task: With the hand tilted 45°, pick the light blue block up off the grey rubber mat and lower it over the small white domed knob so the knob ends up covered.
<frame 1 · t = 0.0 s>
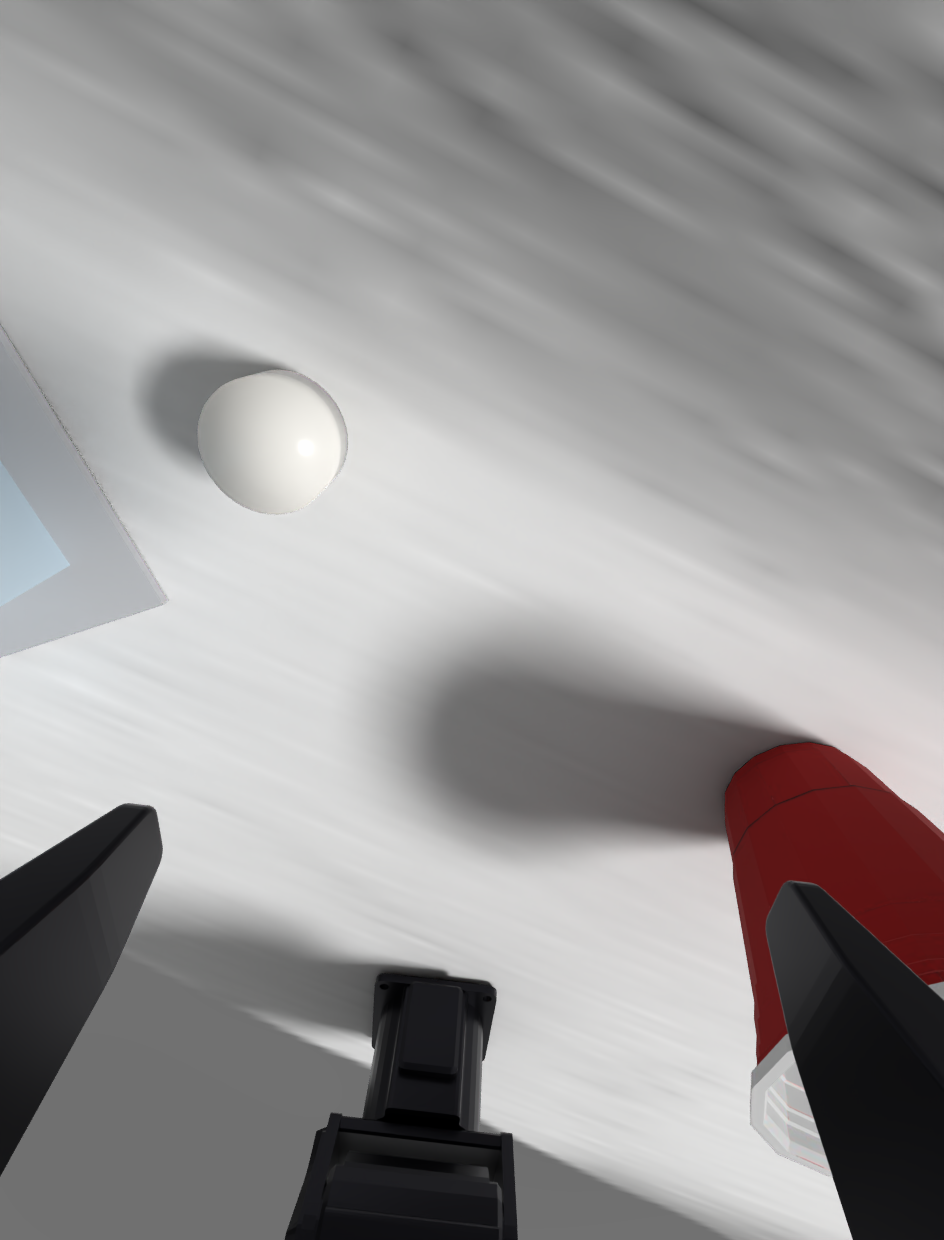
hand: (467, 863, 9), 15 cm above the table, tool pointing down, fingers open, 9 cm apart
plastic cup: (786, 795, 27), on the table
white domed knob: (294, 431, 21), on the table
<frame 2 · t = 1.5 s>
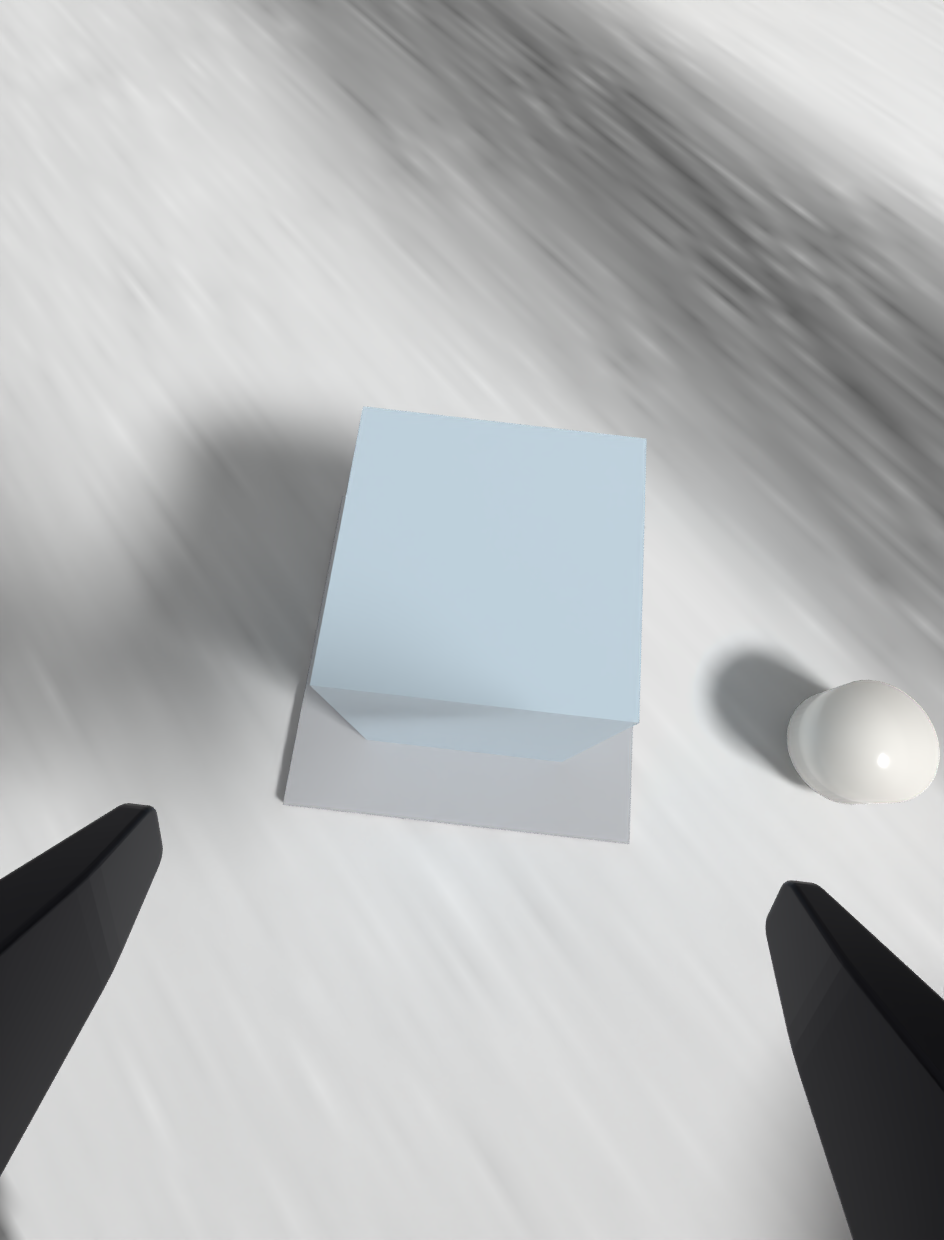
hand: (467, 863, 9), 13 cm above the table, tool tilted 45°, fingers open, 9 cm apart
light blue block: (474, 656, 23), resting on mat
mat: (474, 658, 24), on the table
white domed knob: (829, 748, 23), on the table
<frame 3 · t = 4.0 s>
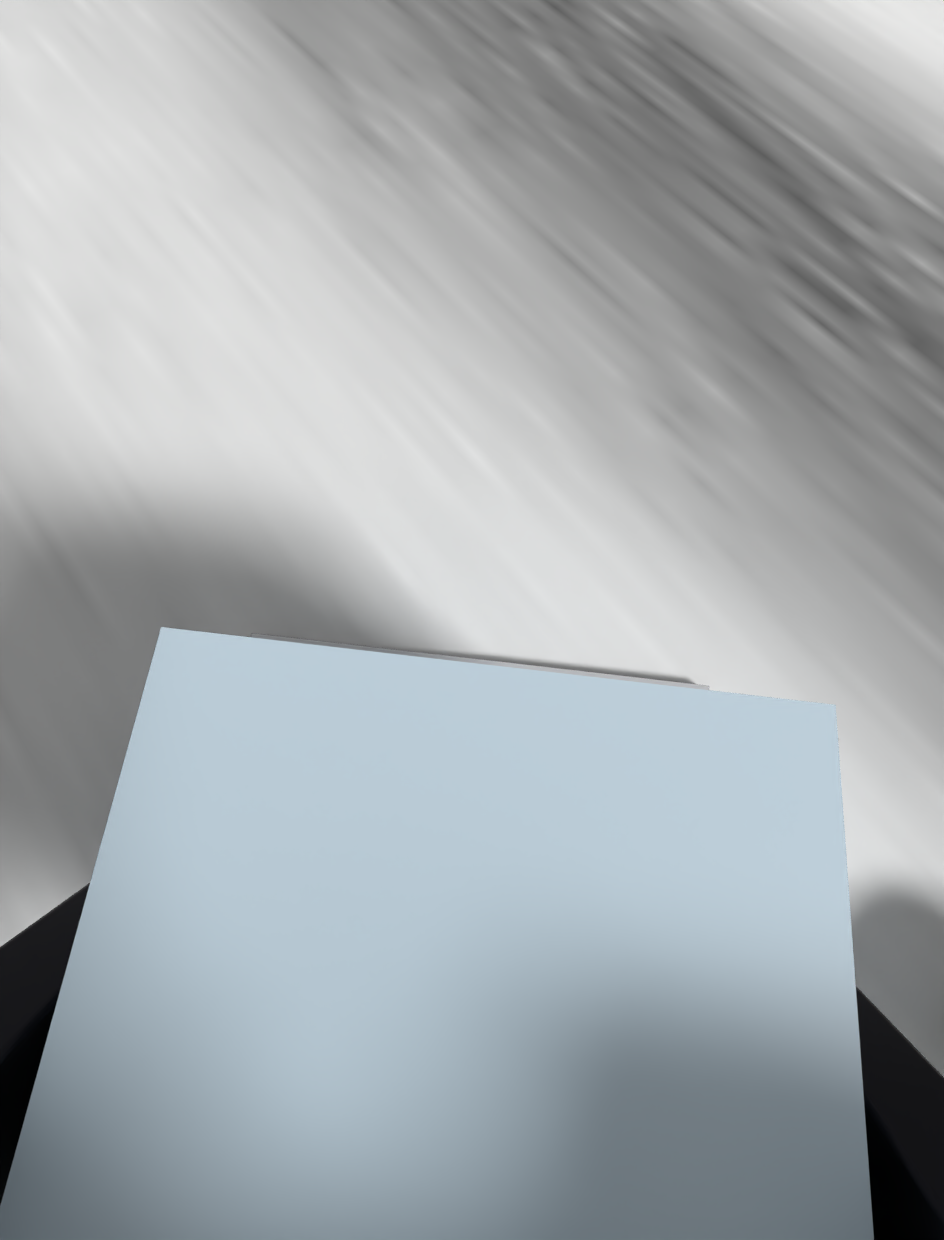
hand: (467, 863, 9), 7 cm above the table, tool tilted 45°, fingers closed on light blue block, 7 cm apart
light blue block: (452, 910, 14), resting on mat, touching gripper
mat: (452, 907, 15), on the table
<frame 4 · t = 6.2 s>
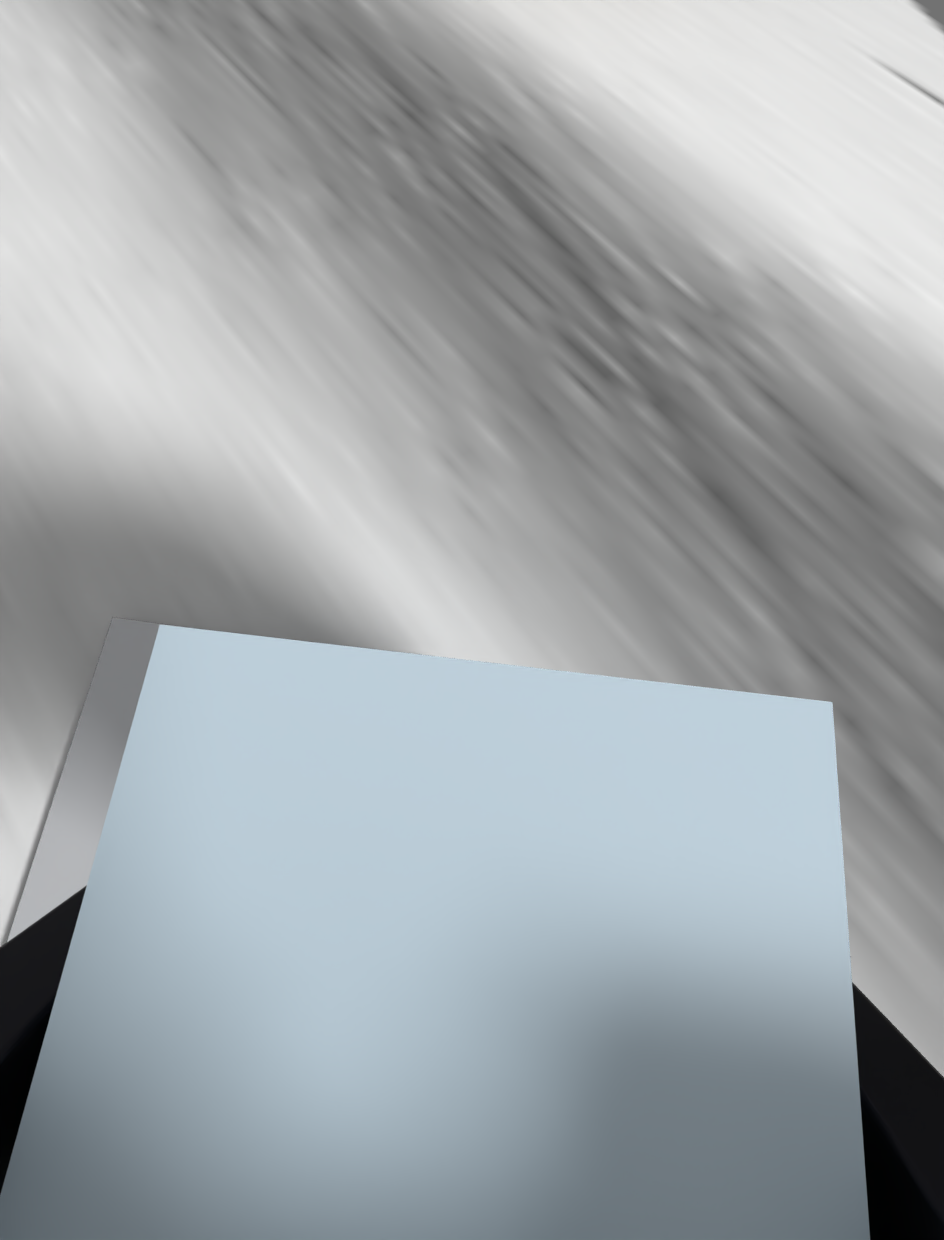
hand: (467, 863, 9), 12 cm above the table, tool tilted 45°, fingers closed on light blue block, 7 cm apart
light blue block: (451, 908, 14), point 6 cm above the table, touching gripper
mat: (241, 815, 21), on the table
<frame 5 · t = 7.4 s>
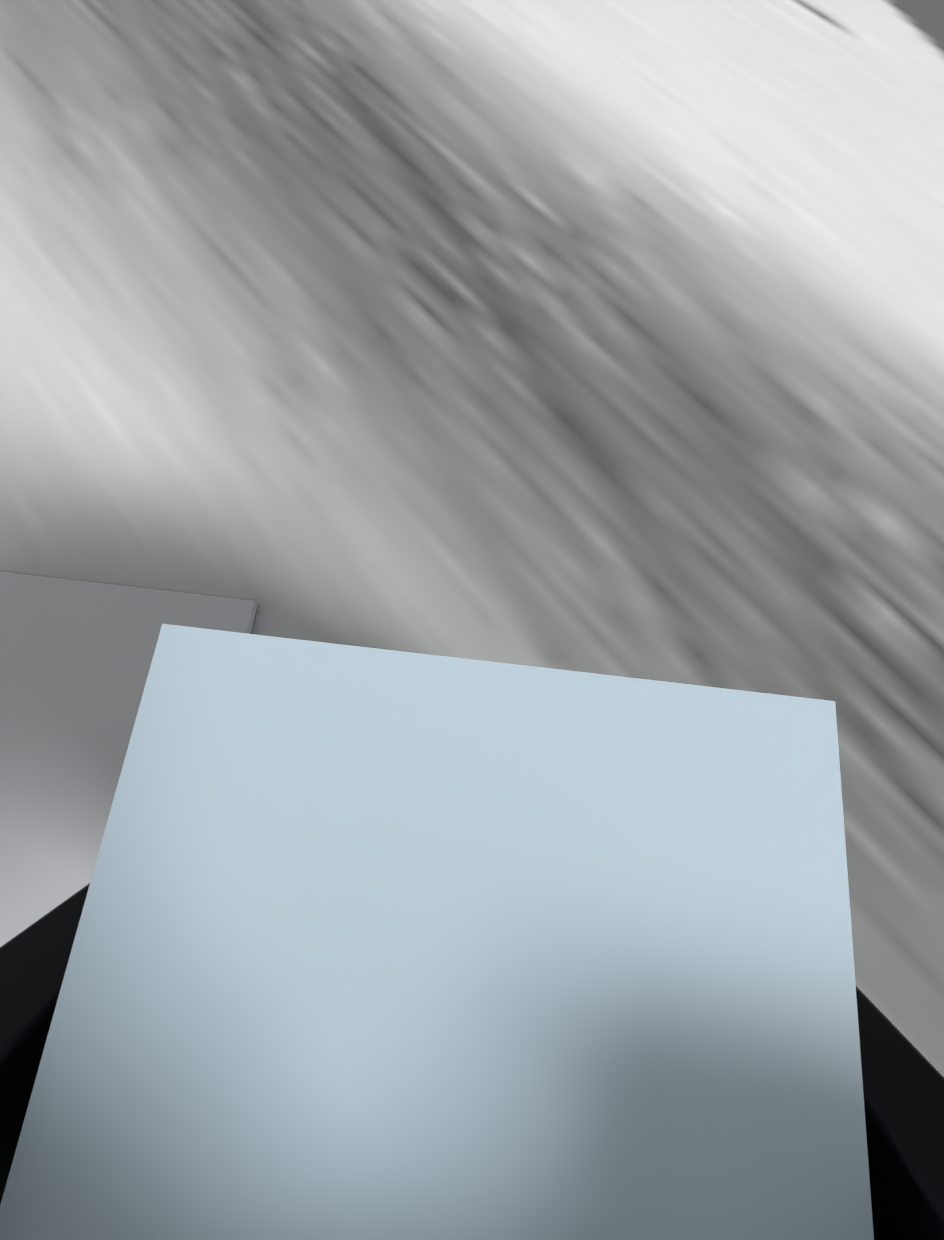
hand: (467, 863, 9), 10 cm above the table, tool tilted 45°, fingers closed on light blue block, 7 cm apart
light blue block: (453, 908, 14), point 4 cm above the table, touching gripper
mat: (17, 768, 19), on the table
when the fingers open (7 cm above the table, at t = 8.5 s): light blue block drops 1 cm, on the table.
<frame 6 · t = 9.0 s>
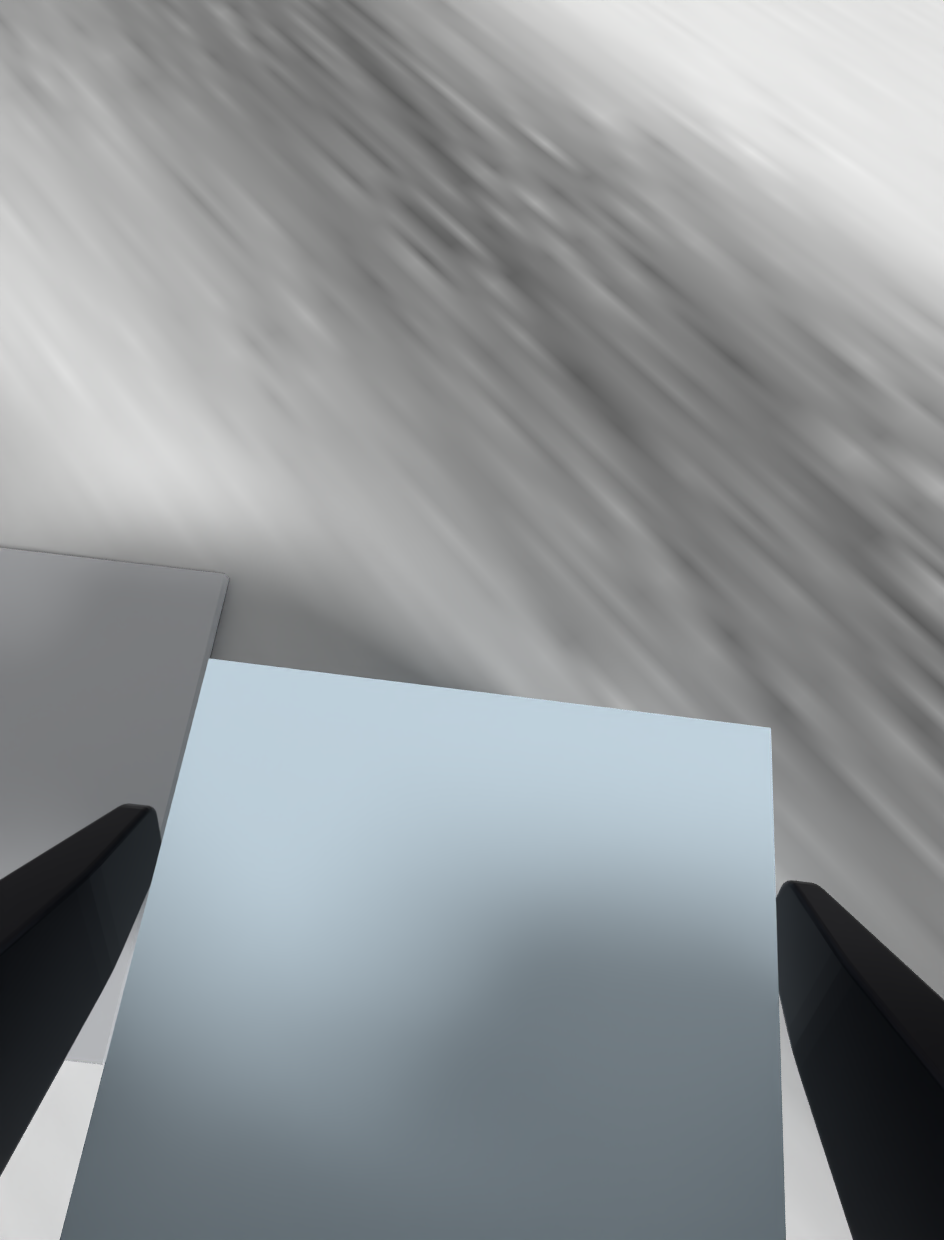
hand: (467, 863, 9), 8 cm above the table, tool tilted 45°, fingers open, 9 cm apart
light blue block: (451, 902, 16), on the table
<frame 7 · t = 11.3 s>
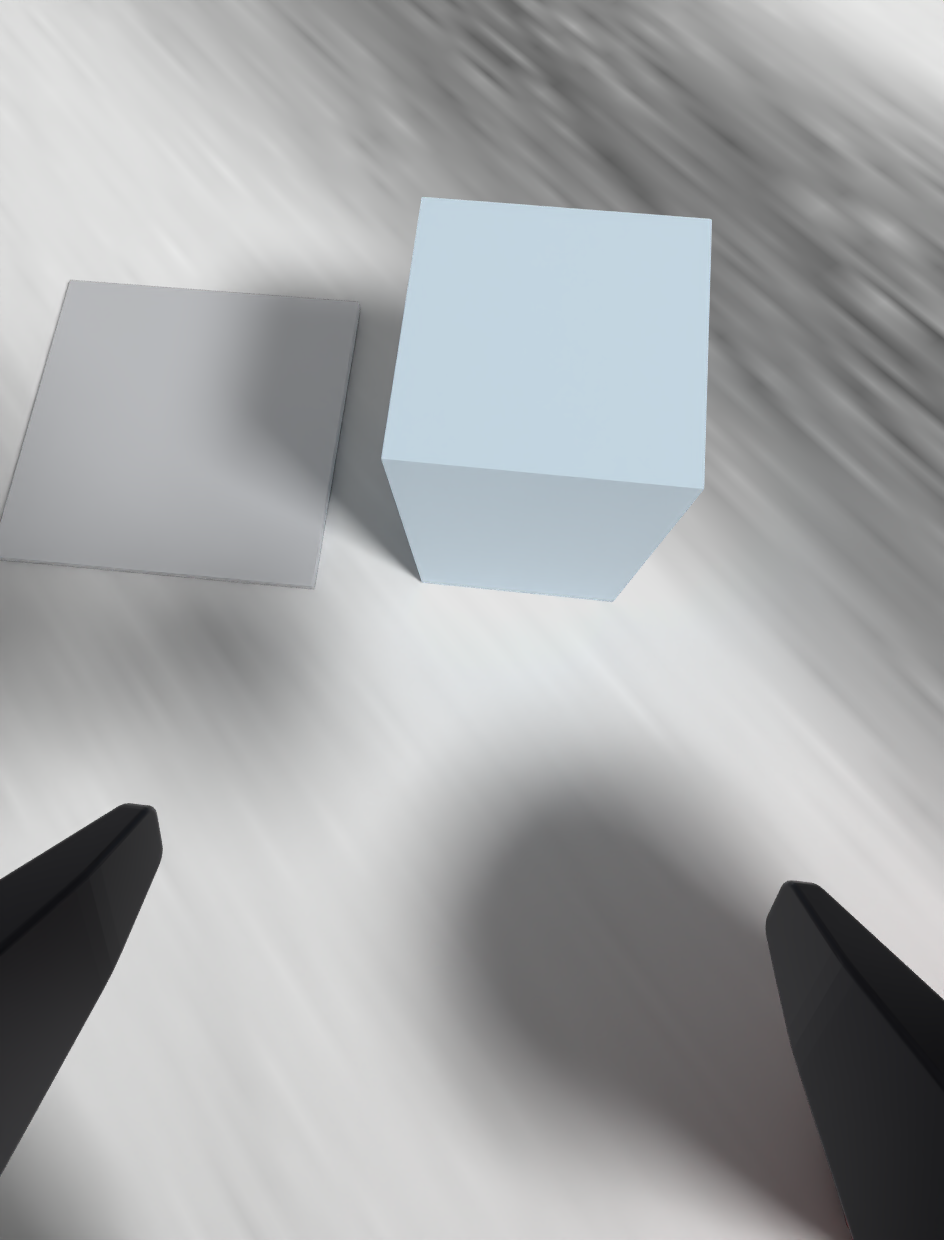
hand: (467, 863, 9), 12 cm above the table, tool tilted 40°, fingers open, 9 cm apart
light blue block: (525, 502, 24), on the table
mat: (187, 428, 24), on the table
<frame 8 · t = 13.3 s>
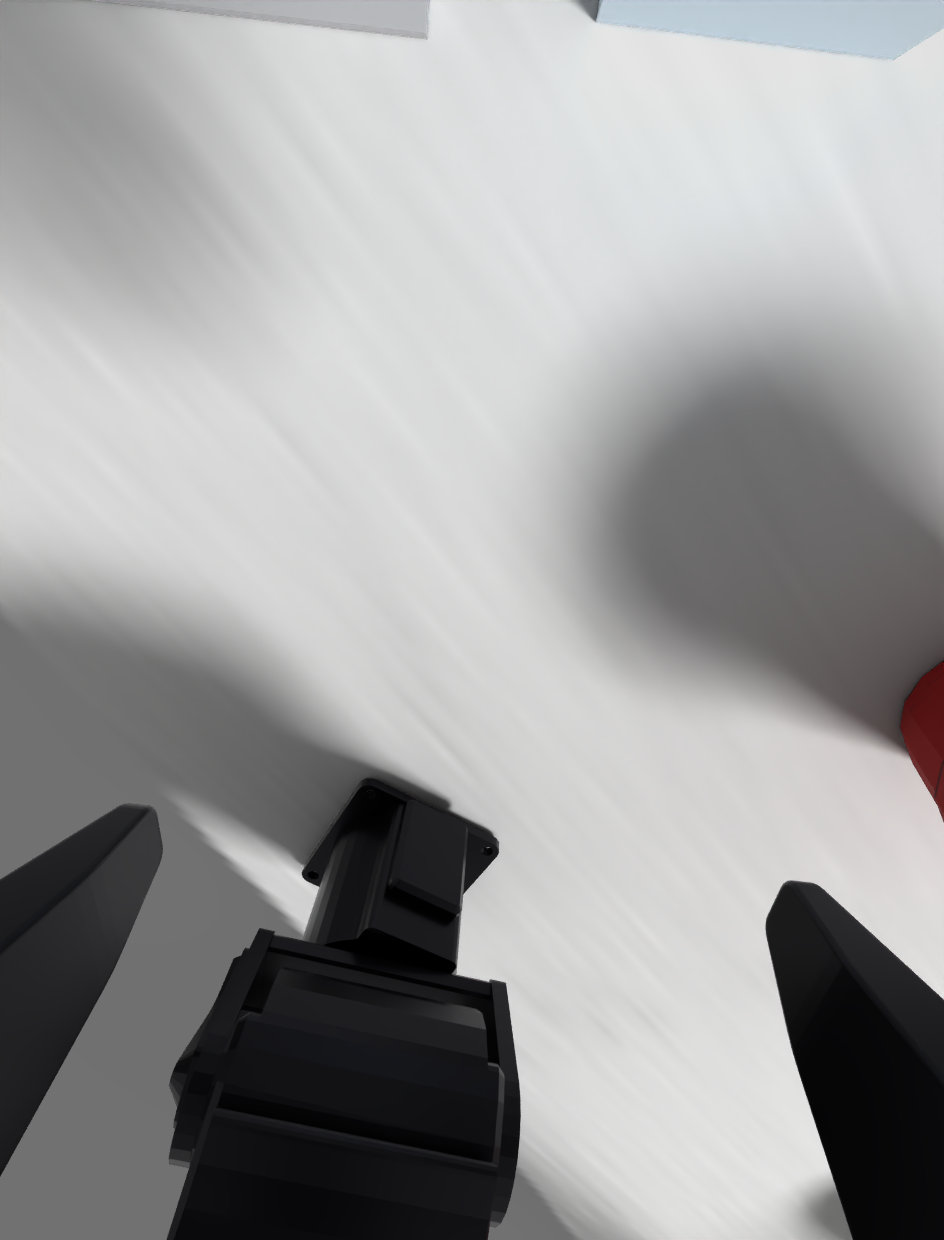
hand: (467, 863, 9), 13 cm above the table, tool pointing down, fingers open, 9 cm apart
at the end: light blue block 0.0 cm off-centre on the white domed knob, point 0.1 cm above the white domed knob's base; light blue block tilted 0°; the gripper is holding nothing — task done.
